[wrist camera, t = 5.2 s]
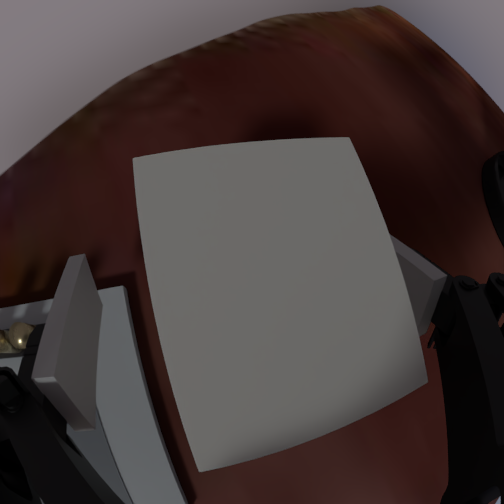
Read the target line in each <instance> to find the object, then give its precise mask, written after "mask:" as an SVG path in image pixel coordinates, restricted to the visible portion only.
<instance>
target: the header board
mask: <svg viewBox="0 0 504 504" xmlns="http://www.w3.org/2000/svg"><path fill="white" fill-rule="evenodd" d="M97 291H98V294H99V296H100V299H101V302H102V304H103V309H102V317H101V326H100V336H99V347H98V360H97V377H96V430H90V431H74V430H73V429H72V427H71V426H70V425H69V424H68V423H67V434H68V435H69V436H70V437H71V438H72V440H73V441H74V443H75V444H76V445H77V447H78V448H79V450H80V451H81V452H82V454H83V455H84V456H85V458H86V459H87V460H88V461H89V463H90V464H91V465H92V467H93V468H94V469H95V470H96V472H97V473H98V474H99V475H100V476H101V478H102V479H103V480H104V481H105V482H106V483H107V485H108V486H109V487H110V488H111V489H112V490H113V491H114V492H115V494H116V495H117V496H118V497H119V498H120V499H121V500H122V501H123V502H124V503H125V504H188V501H187V499H186V497H185V494H184V492H183V490H182V487H181V485H180V482H179V480H178V477H177V475H176V472H175V469H174V467H173V464H172V461H171V459H170V456H169V453H168V450H167V447H166V445H165V442H164V439H163V436H162V433H161V430H160V427H159V423H158V420H157V417H156V414H155V410H154V407H153V404H152V400H151V397H150V393H149V390H148V386H147V382H146V378H145V375H144V371H143V367H142V363H141V358H140V354H139V350H138V345H137V341H136V336H135V332H134V327H133V322H132V317H131V311H130V306H129V301H128V295H127V289H126V288H125V287H124V286H118V287H112V288H107V289H102V290H97ZM52 302H53V299H49V300H44V301H38V302H33V303H28V304H22V305H17V306H11V307H6V308H0V329H1V330H4V329H10V327H11V325H12V324H13V323H15V322H22V323H27V324H32V325H37V324H43V323H46V320H47V317H48V314H49V311H50V308H51V305H52ZM21 360H22V357H18V358H8V359H0V367H6V366H7V367H9V368H12V369H13V371H14V372H15V373H16V374H17V375H18V371H19V368H20V364H21ZM40 499H41V498H40ZM41 502H42V504H44V503H43V501H42V500H41Z"/></svg>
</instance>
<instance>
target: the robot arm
mask: <svg viewBox="0 0 504 504" xmlns="http://www.w3.org/2000/svg"><path fill="white" fill-rule="evenodd" d="M482 179H483V188H484V193H485V198H486V202H487V205H488V208H489V212H490V215H491V218H492V220H493V223H494V226H495V228H496V231H497V233H498V235H499V237H500V240H501V242H502V244H503V246H504V151H501V152H498V153H497V154H495V155H494V156H493V157H491V158H490V159H488V160H487V161H486V162H485V164H484V166H483V172H482ZM389 235H390V234H389ZM390 238H391V241H392V244H393V246H394V249H395V252H396V256H397V259H398V262H399V265H400V268H401V271H402V275H403V278H404V281H405V285H406V288H407V292H408V295H409V299H410V302H411V306H412V310H413V314H414V318H415V322H416V326H417V330H418V334H419V336H421V335H423V334H425V333H426V332H427V330H428V327H429V325H430V322H432V323H434V324H435V325H436V326H435V329H434V331H433V333H432V336H431V338H430V340H429V342H428V347H427V348H430V347H431V345H432V342H433V341H435V345H434V347H433V348H434V349H436V350H437V356H438V361H439V367H440V374H441V380H442V388H443V395H444V404H445V413H446V425H447V439H448V467H449V481H448V486H447V489H446V491H445V493H444V495H443V496H442V499H441V502H440V504H488V503H489V502H491V501H492V500H494V499H496V498H498V497H499V496H501V504H504V323H503V325H502V327H501V328H500V327H499V325H498V321H499V319H500V317H501V315H502V313H504V274H501V273H491V274H490V276H489V278H488V281H487V284H479V283H478V282H477V281H475V280H474V279H472V278H470V277H467V276H456V277H455V278H454V277H452V276H451V275H450V274H448V273H447V272H446V271H444V270H443V269H442V268H440V267H439V266H437V265H436V264H435V263H433V262H431V260H429V259H428V258H425V256H424V255H422V254H421V253H419V252H418V251H417V250H414V249H412V248H410V247H408V246H406V245H405V244H403V243H402V242H400V241H399V240H397V239H396V238H395V237H393V236H392V235H390ZM102 309H103V304H102V302H101V299H100V296H99V294H98V291H97V288H96V285H95V283H94V280H93V277H92V274H91V271H90V268H89V265H88V262H87V259H86V256H85V254H81V255H76V256H72V257H69V259H68V261H67V264H66V266H65V269H64V272H63V274H62V277H61V279H60V282H59V285H58V288H57V290H56V293H55V296H54V299H53V302H52V305H51V308H50V311H49V314H48V317H47V320H46V324H40V325H36V327H35V328H34V329H33V331H32V332H31V333H30V335H29V337H28V340H27V343H26V348H25V350H24V353H23V356H24V357H22V360H21V364H20V368H19V371H18V375H17V374H16V373H15V372H14V371H13V369H12V368H9V367H7V366H6V367H0V504H42V502H41V500H42V501H43V503H44V504H125V503H124V502H123V501H122V500H121V499H120V498H119V497H118V496H117V495H116V494H115V492H114V491H113V490H112V489H111V488H110V487H109V486H108V485H107V483H106V482H105V481H104V480H103V479H102V478H101V476H100V475H99V474H98V473H97V472H96V470H95V469H94V468H93V467H92V465H91V464H90V463H89V461H88V460H87V459H86V458H85V456H84V455H83V454H82V452H81V451H80V450H79V448H78V447H77V445H76V444H75V443H74V441H73V440H72V438H71V437H70V436H69V435H68V434H67V423H68V424H69V425H70V426H71V427H72V429H73V430H74V431H90V430H96V377H97V360H98V347H99V336H100V326H101V317H102ZM40 498H41V499H40Z"/></svg>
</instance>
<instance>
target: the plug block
mask: <svg viewBox="0 0 504 504" xmlns="http://www.w3.org/2000/svg"><path fill="white" fill-rule="evenodd" d="M133 169H134V181H135V191H136V201H137V210H138V218H139V226H140V233H141V241H142V247H143V254H144V260H145V267H146V273H147V278H148V284H149V289H150V295H151V300H152V305H153V310H154V315H155V320H156V324H157V329H158V334H159V338H160V342H161V347H162V351H163V355H164V359H165V363H166V367H167V371H168V375H169V378H170V382H171V386H172V389H173V393H174V397H175V400H176V404H177V407H178V410H179V414H180V417H181V420H182V423H183V427H184V430H185V433H186V436H187V439H188V442H189V445H190V448H191V451H192V454H193V457H194V459H195V462H196V465H197V468H198V470H199V472H203V471H208V470H213V469H217V468H221V467H226V466H230V465H234V464H238V463H242V462H245V461H249V460H252V459H256V458H259V457H263V456H266V455H269V454H272V453H276V452H279V451H282V450H285V449H288V448H291V447H293V446H296V445H299V444H302V443H304V442H307V441H310V440H312V439H315V438H318V437H320V436H323V435H325V434H327V433H330V432H332V431H335V430H337V429H339V428H342V427H344V426H346V425H348V424H350V423H353V422H355V421H357V420H359V419H361V418H363V417H365V416H367V415H369V414H371V413H373V412H375V411H377V410H379V409H381V408H383V407H385V406H387V405H389V404H391V403H393V402H395V401H396V400H398V399H400V398H402V397H404V396H405V395H407V394H409V393H410V392H412V391H414V390H416V389H417V388H419V387H421V386H422V385H424V384H426V383H427V382H428V378H427V373H426V368H425V362H424V357H423V352H422V348H421V343H420V339H419V334H418V330H417V326H416V322H415V318H414V314H413V310H412V306H411V302H410V299H409V295H408V292H407V288H406V285H405V281H404V278H403V275H402V271H401V268H400V265H399V262H398V259H397V256H396V252H395V249H394V246H393V244H392V241H391V238H390V235H389V232H388V229H387V226H386V224H385V221H384V218H383V216H382V213H381V210H380V208H379V205H378V203H377V200H376V198H375V195H374V193H373V190H372V188H371V185H370V183H369V181H368V178H367V176H366V173H365V171H364V169H363V167H362V164H361V162H360V160H359V158H358V155H357V153H356V151H355V149H354V147H353V145H352V142H351V140H350V138H349V137H340V138H302V139H283V140H268V141H255V142H244V143H233V144H224V145H215V146H207V147H199V148H192V149H185V150H178V151H171V152H165V153H159V154H153V155H147V156H142V157H136V158H133Z"/></svg>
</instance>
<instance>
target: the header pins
mask: <svg viewBox="0 0 504 504" xmlns="http://www.w3.org/2000/svg"><path fill="white" fill-rule="evenodd" d="M43 324H46V323H43ZM37 325H40V324H37ZM35 327H36V325H32V324H27V323H22V322H15V323H13V324H12V325H11V327H10V329H4V330H1V329H0V359H8V358H18V357H24V356H23V353H24V350H25V348H26V343H27V340H28V337H29V335H30V333H31V332H32V331H33V329H34V328H35Z"/></svg>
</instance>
